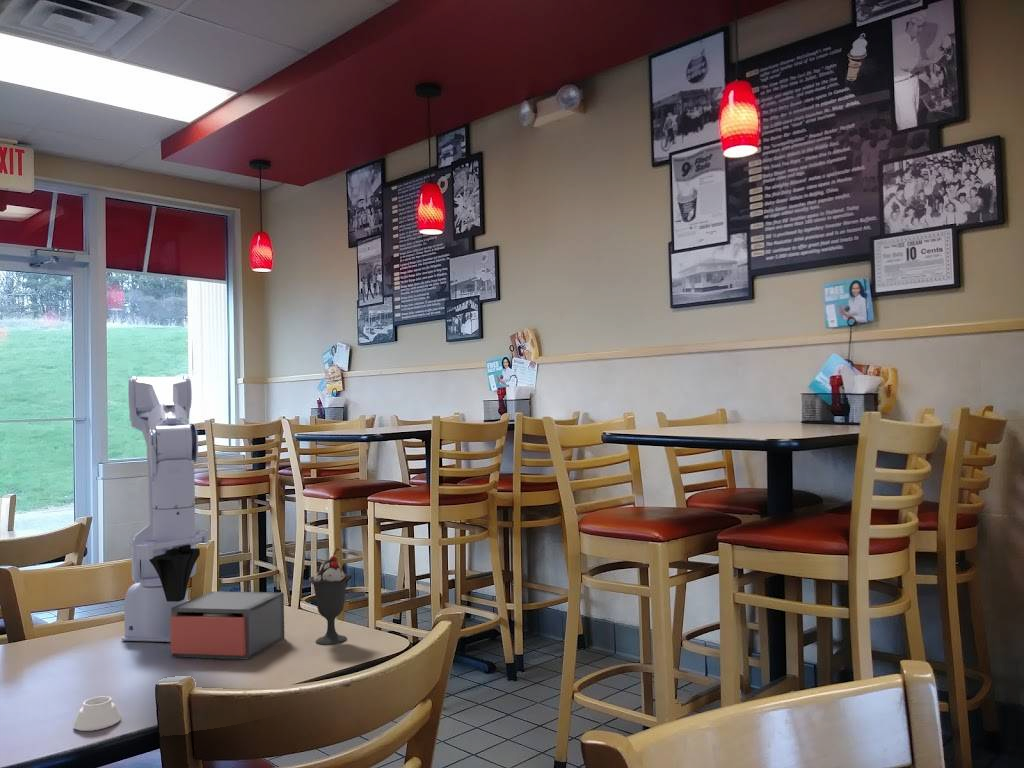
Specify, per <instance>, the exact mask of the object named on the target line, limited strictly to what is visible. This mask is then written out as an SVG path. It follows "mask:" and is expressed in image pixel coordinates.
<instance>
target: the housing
mask: <svg viewBox="0 0 1024 768" xmlns="http://www.w3.org/2000/svg"><path fill="white" fill-rule="evenodd" d="M284 595H285V594H284V592H272V591H271V592H270V591H269V592H267V591H266V592H265V591H264V592H263V591H258V592H256V591H210V592H207V593H205V594H202V595H200V596H198V597H197V596H196V597H195V598H193V599H190V600H188V601H187V602H185V603H182V604H180V605H177V606H175V607H172V608H171V616H174V615H176V616H203V612H204V613H234V617H245V634H246V654H245V655H243V656H238V655H208V654H178V653H171V657H174V658H175V657H177V658H182V657H183V658H205V659H207V658H209V659H210V658H211V659H212V658H214V659H233V660H235V659H237V660H238V659H239V660H250V659H252V658H254V657H256V656H257V655H259V654H261V653H262V652H264V651H266V650H267V649H269V648H271V647H272V646H274V645H275V644H276V645H277V643H280V641H282V640H284V639H285V601H284V600H285V599H284V597H285V596H284Z"/></svg>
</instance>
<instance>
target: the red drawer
mask: <svg viewBox="0 0 1024 768" xmlns="http://www.w3.org/2000/svg"><path fill="white" fill-rule="evenodd" d="M170 624H171V642H170V654H172V653H178V654H208V655H238V656H243V655H245V654H246V634H245V617H219V616H176V615H174V616H171V617H170Z"/></svg>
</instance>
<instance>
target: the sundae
mask: <svg viewBox="0 0 1024 768" xmlns="http://www.w3.org/2000/svg"><path fill="white" fill-rule="evenodd" d="M339 551H340V548H339V547H336V549H335V550H334V552H333V555H332V556H330V557H329V559H327V560H325V561H324V562H319V563H318V566H317V572H316V574H315V575H314V576H310V577H309V578H308V581H309V583H310V584H312V585H313V589H314V594H315V595H314V596H315V600H316V601H315V602H316V607H317V611H318V614H320V616H321V617H323V618H324V619H326V621H327V626H326V627H327V630H326V633H325V634H324V636H321V637H318V638H317V639H316V640H315V643H316V644H317V645H322V646H332V645H337V644H338V643H339V644H342V643H344V642H346V641H347V640H348V637H347V636H345V635H342V634H339V633H338V632H337V631H336V627H335V626H336V625H335V621H336V618H337V617H339V616H340V615H341V613H342V612H343V610H344V608H345V607H344V606H345V601H346V590H347V585H348V582H349V581H350V580H351V579H352V575H351V574H345V572H344V570H343V568H342V566H341V564H340V562H338V557H337V556H336V554H337V552H339Z"/></svg>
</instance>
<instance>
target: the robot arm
mask: <svg viewBox="0 0 1024 768" xmlns="http://www.w3.org/2000/svg"><path fill="white" fill-rule="evenodd" d="M127 392H128V409H129V421H130V422H131V427H132V428H134V429H136V430H138V431H140V432H142V436H143V438H144V441H145V445H146V464H147V466H146V469H147V496H148V497H147V499H148V502H147V503H148V524H147V525H146V526H144V527H143V528H142V529H140V531H138V532H137V533H136V534H135V535H134V536H133V539H132V541H131V546H132V548H131V579H132V581H133V582H135V583H133V584H132V585H130V586H129V587H128V589H127V591H126V594H125V597H124V603H123V605H124V608H123V611H124V620H123V621H124V635H123V636H122V637H121V641H125V642H126V641H128V642H129V641H130V642H132V641H133V642H156V643H157V642H160V643H161V642H162V643H164V642H166V643H171V624H170V617H171V608H172V607H175V606H177V605H180V604H182V603H185V602H187V601H189V597H188V595H189V594H188V587H189V581H190V578H193V577H194V575H195V574H196V573H197V560H198V559H199V557H200V555H201V549H200V548H196V547H197V546H196V545H199V544H207V543H209V542H210V537H209V535H210V534H209V533H210V532H209V530H210V529H196V498H195V497H196V492H195V490H196V487H195V486H196V484H195V482H196V481H195V478H196V477H195V464H196V463H197V459H198V455H199V436H198V434H199V433H198V431H197V427H196V424H195V423H193V422H192V423H190V422H189V419H190V413H191V408H192V400H193V399H192V394H193V393H192V382H191V379H190V378H189V377H188V376H187V375H183V376H135V375H134V376H133V375H132V376H131V377H130V378H129V379H128V391H127ZM192 461H193V462H192ZM194 463H195V464H194Z"/></svg>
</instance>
